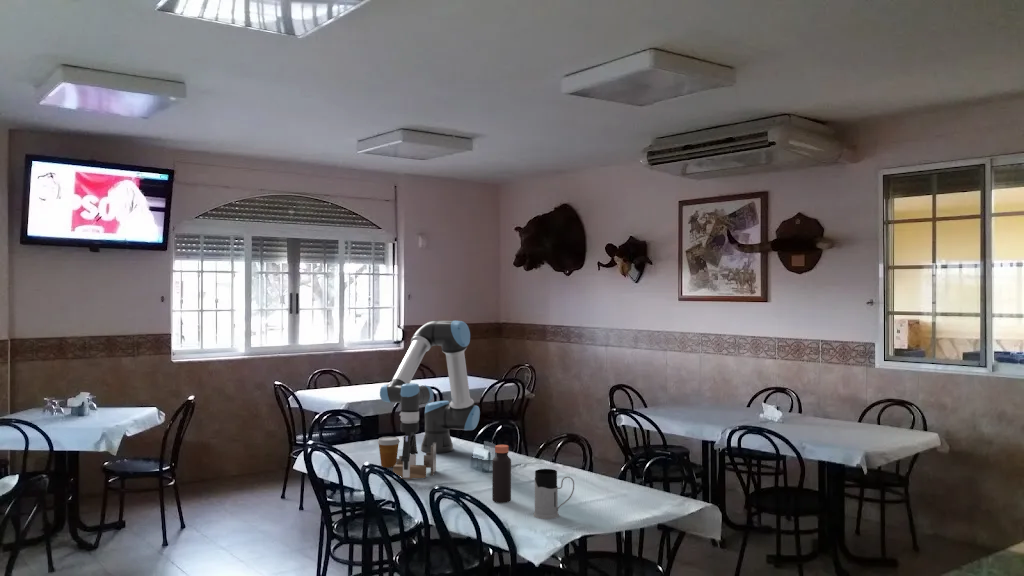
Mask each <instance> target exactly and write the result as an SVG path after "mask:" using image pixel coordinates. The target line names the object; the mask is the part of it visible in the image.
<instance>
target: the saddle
mask: <svg viewBox="0 0 1024 576" xmlns="http://www.w3.org/2000/svg"><path fill="white" fill-rule="evenodd" d="M401 459H402V455H399V456H398V458H397V459H396V465H403V461H401Z"/></svg>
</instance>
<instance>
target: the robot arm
mask: <svg viewBox="0 0 1024 576" xmlns="http://www.w3.org/2000/svg"><path fill="white" fill-rule="evenodd" d="M470 341H471V330H470V328H469V325H468V324H467V323H466V322H465V321H462V320H457V319H456V320H455V319H454V320H438V319H437V320H436V319H435V320H430V321H428V322H426V323H424V324H423V325H422V326H420V327H419V328H418V329H417V330H416V331H415V333H414V334H413V335H412V336H411V339H410V345H409V348H408V350H407V351H406V353H405V355H404V357H403V358H402V360H401V363H400V364H399V366H398V368H397V370H396V371H395V374H394V375H393V377H392V379H391V380H390V383H389V384H388V383H387V384H383V385H382V386H381V387H380V390H379V397H380V400H381V401H382V402H386V403H391V404H392V403H394V404H395V403H396V404H400V413H399V416H400V421H401V422H400V432H401V433H405V435H404V436H403V443H402V444H403V445H402V453H401V454H402V455H401V456H402V459H401V461H403V478H410V465H417V455H418V454H419V452H418V447H417V436H416V433H417V432H419V430H420V422H419V421H420V405H425V408H424V436H423V440H422V442H421V447H420V448H421V449H420V450H421V452H423V453H426V452H431V445H432V444H433V443H436V454H442V453H448V452H452V451H454V446H453V445H454V444H453V441H452V438H451V435H450V430H458V431H461V430H462V431H473V430H475V429H476V428H477V426H478V424H479V421H480V415H481V411H480V409H481V408H480V407H479V406H478V405H475V401H474V399H473V398H472V397H471V394H470V386H469V380H468V379H469V378H468V373H467V372H468V371H467V364H466V363H467V362H466V358H465V357H466V356H465V355H466V354H465V351H466V350H467V348H468V346H469V345H470V343H471V342H470ZM434 346H436V347H437V346H439V347H441V351H442V353H444V354H445V361H446V367H447V372H448V373H447V374H448V380H449V381H448V382H449V387H450V388H449V389H450V395H451V400H450V401H449V400H438V401H433V398H434V391H433V389H432V387H430V386H429V385H425V384H424V385H419V384H418V383H415V382H414V383H412V380H413V377H414V375H416V374H415V373H416V372H417V369H418V368H419V366H420V364H421V362H422V361H423V358H424V356H425V354H426V352H429V351H430V350H431V348H432V347H434ZM431 401H433V402H431ZM403 478H402V479H403Z"/></svg>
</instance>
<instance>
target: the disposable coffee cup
mask: <svg viewBox="0 0 1024 576" xmlns="http://www.w3.org/2000/svg"><path fill="white" fill-rule="evenodd" d="M399 439H400V438H399V437H396V436H382V437H379V438H378V440H377V444H378V449H379V458H380V464H381V465H380V466H381V467H382V466H383V467H382V468H385V467H386V468H389V467H390V468H393V466H394V465H396V459H398V451H399V446H400V445H399V444H400V440H399Z"/></svg>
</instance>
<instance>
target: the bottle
mask: <svg viewBox="0 0 1024 576" xmlns="http://www.w3.org/2000/svg"><path fill="white" fill-rule="evenodd" d="M494 452H495V456H494V458H492V465H491V466H492V481H491V482H492V492H491V493H492V497H491V498H492V501H493V502H494V503H496V504H505V503H510V502H511V500H512V459H511V458H510V457H509V455H508V454H509V445H508V444H497V445H495V446H494Z"/></svg>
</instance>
